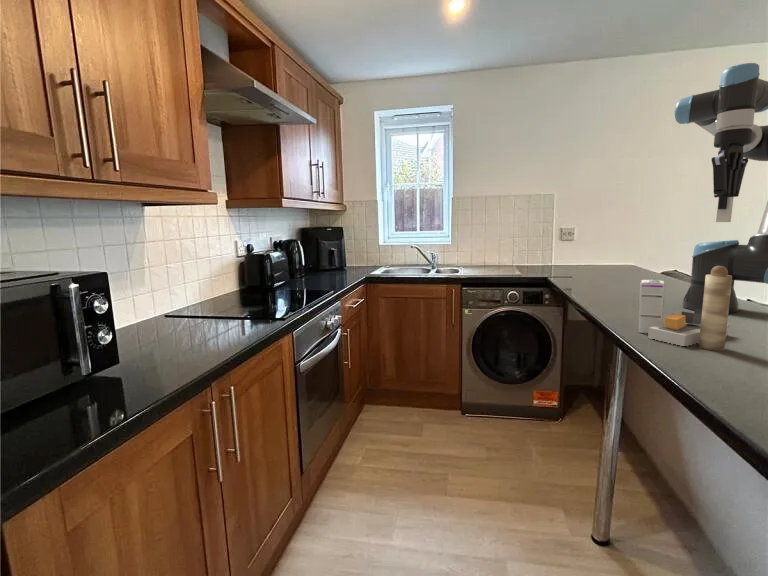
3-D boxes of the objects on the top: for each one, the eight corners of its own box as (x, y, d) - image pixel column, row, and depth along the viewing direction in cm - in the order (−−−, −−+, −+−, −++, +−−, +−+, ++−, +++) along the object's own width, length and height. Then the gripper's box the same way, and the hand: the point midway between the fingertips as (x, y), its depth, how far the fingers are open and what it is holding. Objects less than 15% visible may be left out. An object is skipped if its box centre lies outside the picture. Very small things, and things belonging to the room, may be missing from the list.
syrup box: (662, 335, 114) (666, 283, 111) (636, 332, 117) (640, 281, 115) (661, 330, 119) (665, 280, 116) (637, 327, 122) (640, 279, 119)
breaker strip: (691, 328, 120) (692, 317, 119) (727, 335, 112) (729, 323, 111) (647, 338, 111) (648, 326, 111) (683, 347, 103) (685, 334, 103)
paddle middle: (687, 322, 113) (689, 312, 113) (699, 324, 110) (701, 314, 110) (679, 321, 111) (682, 311, 111) (692, 323, 109) (694, 313, 109)
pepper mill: (705, 343, 106) (713, 264, 102) (728, 348, 101) (737, 265, 98) (694, 346, 103) (702, 265, 100) (717, 352, 99) (726, 267, 96)
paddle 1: (673, 323, 110) (673, 313, 110) (685, 325, 108) (685, 315, 107) (665, 327, 109) (664, 317, 108) (677, 330, 106) (676, 320, 106)
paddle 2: (700, 319, 116) (702, 309, 115) (712, 321, 113) (714, 311, 113) (692, 318, 114) (695, 308, 114) (705, 320, 111) (707, 310, 111)
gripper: (730, 134, 114) (720, 221, 117) (702, 131, 108) (693, 222, 112) (764, 129, 107) (753, 221, 111) (737, 124, 101) (726, 222, 105)
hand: (723, 221), depth 111 cm, fingers closed
